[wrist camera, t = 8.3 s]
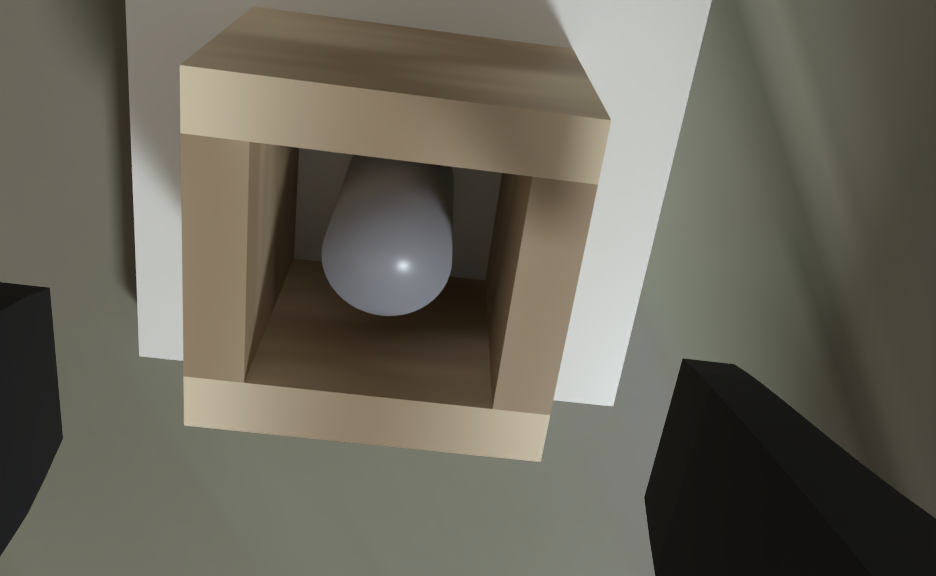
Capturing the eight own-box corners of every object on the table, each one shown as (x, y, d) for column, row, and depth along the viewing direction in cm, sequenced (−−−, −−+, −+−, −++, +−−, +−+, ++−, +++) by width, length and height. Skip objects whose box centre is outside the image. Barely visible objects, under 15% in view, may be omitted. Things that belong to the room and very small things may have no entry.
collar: (572, 49, 16) (611, 120, 12) (523, 324, 18) (540, 462, 14) (253, 6, 15) (179, 64, 11) (246, 293, 18) (184, 425, 14)
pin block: (702, -42, 16) (786, -1, 12) (605, 376, 20) (642, 517, 16) (144, -120, 16) (27, -106, 11) (156, 327, 20) (73, 461, 15)
